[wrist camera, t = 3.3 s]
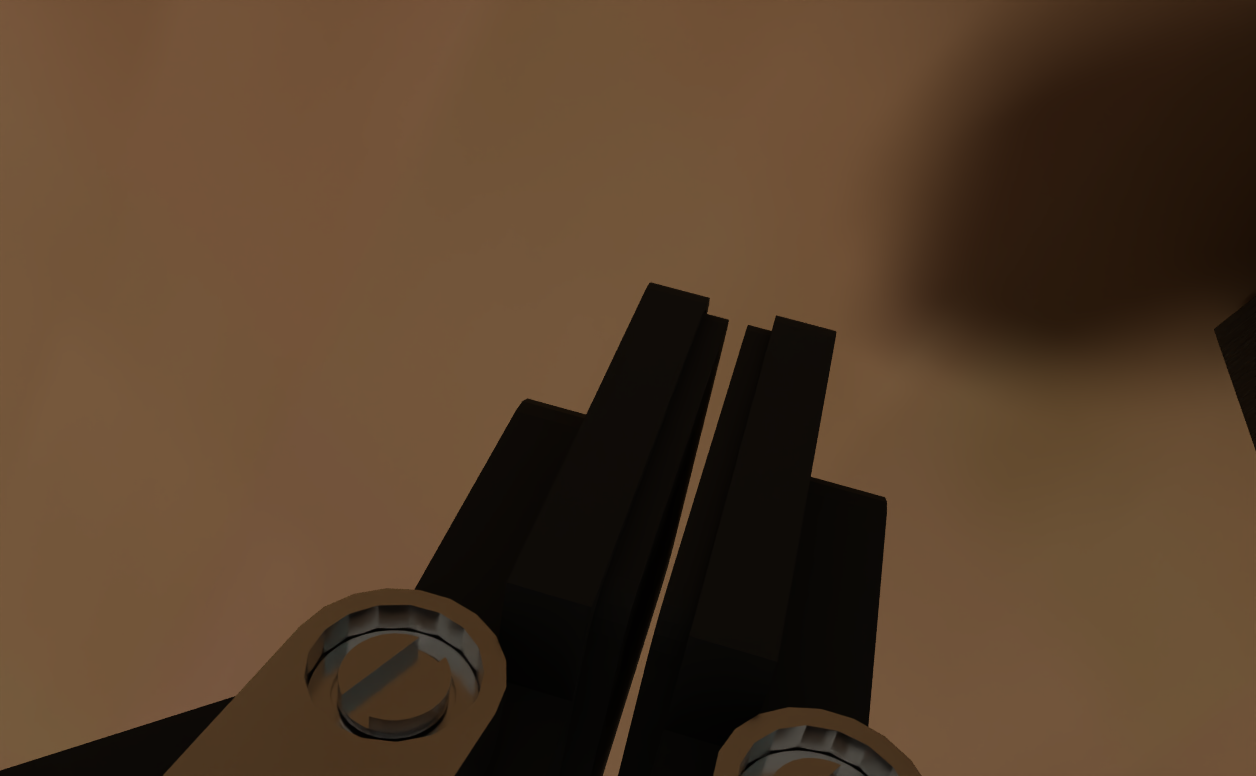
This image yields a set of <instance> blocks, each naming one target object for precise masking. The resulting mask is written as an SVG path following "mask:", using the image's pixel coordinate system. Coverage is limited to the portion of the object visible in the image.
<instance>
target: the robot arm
mask: <svg viewBox="0 0 1256 776" xmlns="http://www.w3.org/2000/svg"><path fill="white" fill-rule="evenodd" d="M709 299H710V298H708V297H704V296H700V295H697V294H693V293H689V292H685V291H681V290H678V289H674V288H670V287H666V286H662V285H659V284H655V283H649V285H648V286H647V288H646V290H645V292H644V294H643V296H642V298H641V301H640V303H639V305H638V307H637V309H636V311H635V313H634V315H633V317H632V320H631V322H630V324H629V326H628V328H627V330H626V332H625V334H624V336H623V338H622V341H621V343H620V345H619V347H618V349H617V351H616V353H615V355H614V357H613V359H612V362H611V364H610V366H609V368H608V370H607V372H606V374H605V376H604V378H603V380H602V383H601V385H600V387H599V389H598V391H597V393H596V395H595V397H594V399H593V402H592V404H591V406H590V408H589V410H588V412H587V414H586V415H585V414H582V413H578V412H575V411H571V410H567V409H564V408H560V407H556V406H553V405H549V404H546V403H542V402H538V401H535V400H531V399H526V400H524V401H522V403H521V404H520V406H519V407H518V408H517V410H516V411H515V413H514V415H513V417H512V418H511V420H510V422H509V424H508V426H507V427H506V429H505V431H504V433H503V434H502V436H501V438H500V440H499V441H498V443H497V445H496V447H495V448H494V450H493V452H492V454H491V456H490V457H489V459H488V461H487V463H486V464H485V466H484V468H483V470H482V471H481V473H480V475H479V477H478V478H477V480H476V482H475V484H474V486H473V487H472V489H471V491H470V493H469V494H468V496H467V498H466V500H465V501H464V503H463V505H462V507H461V508H460V510H459V512H458V514H457V516H456V517H455V519H454V521H453V523H452V524H451V526H450V528H449V530H448V531H447V533H446V535H445V537H444V538H443V540H442V542H441V544H440V545H439V547H438V549H437V551H436V553H435V554H434V556H433V558H432V560H431V561H430V563H429V565H428V567H427V568H426V570H425V572H424V574H423V575H422V577H421V579H420V581H419V583H418V584H417V586H416V588H415V590H409V589H390V588H386V589H380V590H374V591H368V592H362V593H357V594H353V595H350V596H348V597H346V598H343V599H341V600H339V601H336V602H334V603H332V604H329V605H327V606H325V607H323V608H322V609H321V610H320V611H318V612H317V613H316V614H315V615H313V616H312V617H311V618H310V619H308V620H307V621H306V622H305V623H303V624H302V625H301V626H300V627H299V628H298V629H297V630H296V631H295V632H294V633H293V634H292V635H291V637H290V638H289V639H288V640H287V641H286V642H285V643H284V644H283V645H282V646H281V647H280V648H279V650H278V651H277V652H276V653H275V654H274V655H273V656H272V657H271V658H270V659H269V660H268V662H267V663H266V664H265V665H264V666H263V667H262V668H261V669H260V670H259V671H258V672H257V674H256V675H255V676H254V677H253V678H252V679H251V680H250V681H249V682H248V683H247V684H246V686H245V687H244V688H243V689H242V690H241V691H240V692H239V693H238V694H237V695H236V696H234V697H231V698H228V699H225V700H222V701H219V702H216V703H212V704H209V705H206V706H203V707H200V708H197V709H193V710H190V711H187V712H184V713H181V714H178V715H174V716H171V717H168V718H165V719H162V720H159V721H155V722H152V723H149V724H146V725H143V726H140V727H137V728H133V729H130V730H127V731H124V732H121V733H118V734H114V735H111V736H108V737H105V738H102V739H99V740H95V741H92V742H89V743H86V744H83V745H80V746H77V747H73V748H70V749H67V750H64V751H61V752H58V753H54V754H51V755H48V756H45V757H42V758H39V759H35V760H32V761H29V762H26V763H23V764H20V765H17V766H13V767H10V768H7V769H4V770H1V771H0V776H603V773H604V770H605V766H606V763H607V760H608V757H609V754H610V750H611V747H612V744H613V741H614V738H615V734H616V731H617V728H618V725H619V722H620V718H621V715H622V712H623V709H624V706H625V703H626V699H627V696H628V693H629V690H630V687H631V683H632V680H633V677H634V674H635V671H636V667H637V664H638V661H639V658H640V655H641V651H642V648H643V645H644V642H645V639H646V635H647V632H648V629H649V626H650V623H651V619H652V616H653V613H654V610H655V607H656V603H657V600H658V597H659V594H660V591H661V588H662V584H663V581H664V578H665V574H666V571H667V567H668V564H669V560H670V556H671V553H672V549H673V545H674V541H675V537H676V533H677V529H678V525H679V521H680V517H681V513H682V509H683V505H684V501H685V497H686V493H687V489H688V485H689V481H690V477H691V473H692V469H693V464H694V460H695V456H696V452H697V448H698V444H699V440H700V436H701V432H702V428H703V424H704V420H705V416H706V412H707V408H708V404H709V400H710V396H711V392H712V388H713V384H714V380H715V376H716V372H717V368H718V364H719V360H720V356H721V352H722V348H723V344H724V339H725V335H726V331H727V327H728V322H729V320H728V319H724V318H720V317H716V316H713V315H709V314H707V312H708V307H709ZM835 338H836V331H834V330H830V329H826V328H822V327H818V326H815V325H811V324H807V323H803V322H799V321H796V320H792V319H788V318H784V317H780V316H777V315H776V318H775V321H774V325H773V328H772V331H769V330H765V329H762V328H758V327H754V326H750V325H748V326H747V329H746V332H745V336H744V339H743V342H742V345H741V349H740V352H739V355H738V358H737V362H736V365H735V368H734V372H733V375H732V378H731V381H730V385H729V388H728V391H727V394H726V398H725V401H724V404H723V407H722V411H721V414H720V417H719V420H718V424H717V427H716V430H715V433H714V437H713V440H712V443H711V446H710V450H709V453H708V456H707V459H706V463H705V466H704V469H703V472H702V476H701V479H700V482H699V485H698V489H697V492H696V495H695V498H694V502H693V505H692V508H691V512H690V515H689V518H688V521H687V525H686V528H685V531H684V534H683V538H682V541H681V544H680V547H679V551H678V554H677V557H676V560H675V564H674V567H673V570H672V573H671V577H670V580H669V583H668V586H667V590H666V593H665V596H664V600H663V603H662V606H661V610H660V613H659V617H658V620H657V624H656V628H655V631H654V635H653V639H652V642H651V646H650V650H649V654H648V658H647V661H646V665H645V670H644V674H643V678H642V682H641V686H640V690H639V694H638V698H637V702H636V706H635V710H634V714H633V718H632V722H631V726H630V730H629V734H628V738H627V742H626V746H625V750H624V754H623V758H622V762H621V766H620V770H619V774H618V776H921V774H920V773H919V771H918V770H917V768H916V767H915V765H914V764H913V762H912V761H911V760H910V759H909V758H908V757H907V756H906V755H905V754H904V753H903V752H901V751H900V750H899V749H898V748H897V747H896V746H895V745H894V744H893V743H892V742H890V741H889V740H888V739H887V738H886V737H885V736H883V735H881V734H880V733H878V732H876V731H874V730H873V729H871V728H869V727H868V724H869V712H870V701H871V689H872V678H873V666H874V655H875V643H876V632H877V620H878V609H879V597H880V586H881V574H882V563H883V551H884V540H885V528H886V517H887V501H886V498H885V497H882V496H878V495H875V494H871V493H868V492H864V491H860V490H857V489H853V488H850V487H846V486H842V485H839V484H835V483H831V482H828V481H824V480H821V479H817V478H813V477H811V472H812V466H813V460H814V455H815V449H816V444H817V438H818V433H819V427H820V422H821V416H822V410H823V405H824V399H825V394H826V388H827V383H828V377H829V371H830V366H831V360H832V355H833V349H834V344H835Z"/></svg>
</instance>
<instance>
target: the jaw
mask: <svg viewBox="0 0 1256 776" xmlns="http://www.w3.org/2000/svg"><path fill="white" fill-rule="evenodd" d="M1214 331H1215V334H1216V337H1217V340H1218V343H1219V346H1220V348H1221V351H1222V354H1223V357H1224V360H1225V363H1226V366H1227V369H1228V372H1229V375H1230V377H1231V380H1232V383H1233V386H1234V389H1235V392H1236V395H1237V398H1238V401H1239V404H1240V406H1241V409H1242V412H1243V415H1244V418H1245V421H1246V424H1247V427H1248V430H1249V433H1250V435H1251V438H1252V441H1253V444H1254V447H1255V450H1256V297H1254V298H1253V299H1252V300H1251V301H1249V302H1248V303H1247V304H1245V305H1244V306H1243V307H1242V308H1240V309H1239V310H1238V311H1236V312H1235V313H1234V314H1233V315H1231V316H1230V317H1229V318H1227V319H1226V320H1225V321H1224V322H1222V323H1221V324H1220V325H1218V326H1217V327H1216V328H1215V329H1214Z"/></svg>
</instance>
